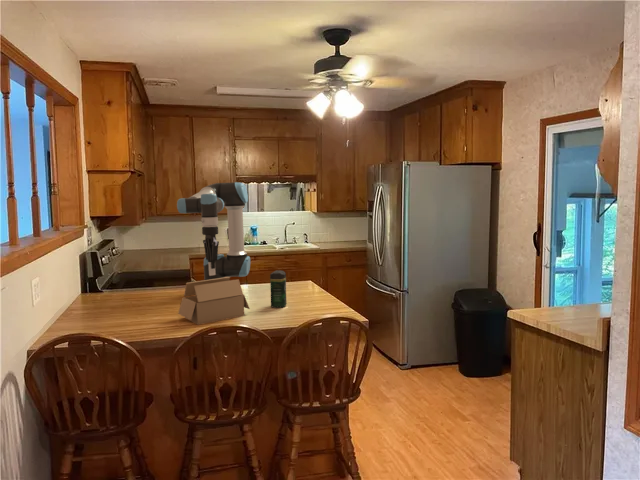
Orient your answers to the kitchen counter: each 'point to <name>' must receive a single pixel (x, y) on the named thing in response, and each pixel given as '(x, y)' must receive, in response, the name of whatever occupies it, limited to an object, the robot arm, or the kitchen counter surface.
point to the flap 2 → (218, 290)
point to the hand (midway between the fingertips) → (212, 275)
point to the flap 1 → (190, 286)
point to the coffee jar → (278, 289)
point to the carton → (212, 309)
